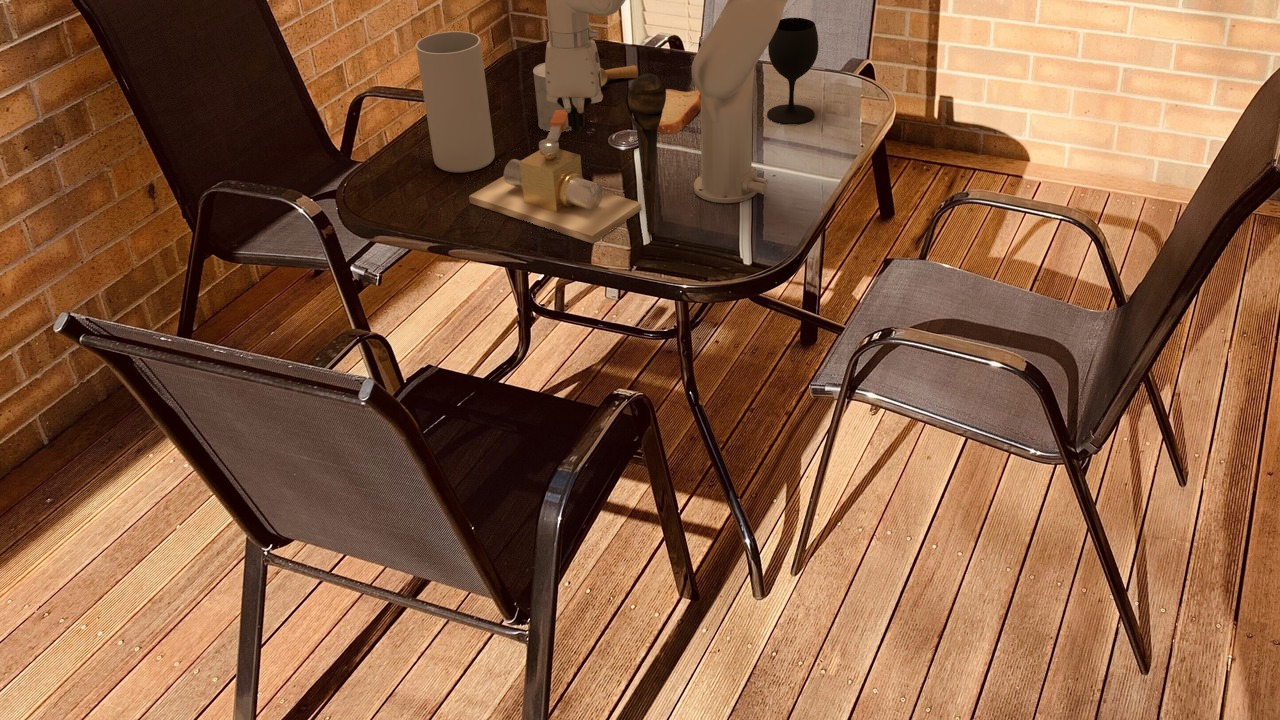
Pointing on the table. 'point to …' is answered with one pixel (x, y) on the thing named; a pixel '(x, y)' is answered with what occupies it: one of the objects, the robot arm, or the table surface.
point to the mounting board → (565, 221)
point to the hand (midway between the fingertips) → (577, 129)
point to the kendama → (619, 73)
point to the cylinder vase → (456, 100)
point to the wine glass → (793, 64)
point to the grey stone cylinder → (545, 100)
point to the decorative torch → (647, 132)
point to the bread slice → (678, 110)
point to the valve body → (553, 181)
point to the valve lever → (554, 134)
